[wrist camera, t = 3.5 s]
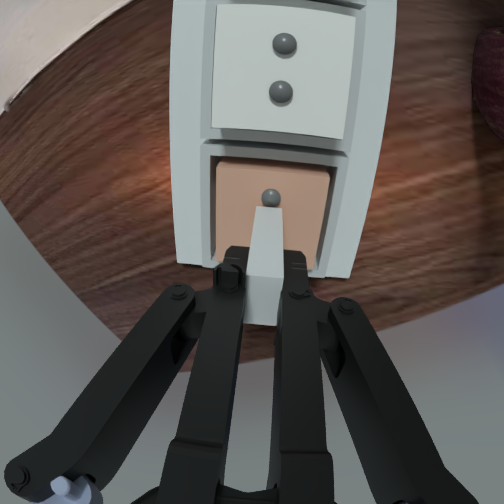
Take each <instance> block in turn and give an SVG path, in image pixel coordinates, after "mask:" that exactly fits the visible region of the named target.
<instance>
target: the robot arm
mask: <svg viewBox="0 0 504 504" xmlns="http://www.w3.org/2000/svg"><path fill="white" fill-rule="evenodd" d="M243 323H249V324H259V325H271V326H276V324H277V328H276V334H275V340H274V346H275V360H274V385H273V408H272V427H271V445H270V446H271V447H270V462H269V474H268V480H267V487H266V490H262V491H256V492H249V493H247V492H242V491H239V490H236V489H233V488H230V487H227V486H224V473H225V464H226V456H227V449H228V441H229V433H230V426H231V418H232V410H233V402H234V395H235V387H236V379H237V372H238V364H239V356H240V348H241V341H242V333H243ZM198 338H200V339H199V343H198V346H197V350H196V354H195V358H194V362H193V366H192V370H191V375H190V378H189V383H188V386H187V391H186V395H185V399H184V403H183V407H182V412H181V416H180V420H179V424H178V428H177V433H176V436H175V438H174V439H173V440H172V441H171V442H170V444H169V448H168V451H167V455H166V459H165V463H164V468H163V472H162V477H161V481H160V486H158V487H155V488H153V489H151V490H149V491H148V492H146V493H145V494H144V495H142V496H141V497H139V498H138V499H136V500H135V501H134V502H132V503H131V504H337V503H336V502H334V473H333V460H332V456H331V454H330V453H329V452H328V450H327V446H326V427H325V410H324V397H323V383H322V370H321V360H320V357H321V359H322V362H323V364H324V367H325V369H326V372H327V374H328V377H329V380H330V382H331V385H332V387H333V390H334V392H335V395H336V398H337V400H338V403H339V406H340V408H341V411H342V413H343V416H344V419H345V421H346V424H347V427H348V429H349V432H350V435H351V437H352V440H353V443H354V445H355V448H356V451H357V454H358V456H359V459H360V462H361V464H362V467H363V470H364V473H365V475H366V478H367V481H368V484H369V487H370V489H371V492H372V494H373V497H374V499H375V501H376V503H377V504H479V503H478V502H477V500H476V499H475V498H474V496H473V495H472V494H471V493H470V492H469V491H468V490H467V489H465V487H464V486H463V485H462V484H461V483H460V482H459V481H458V480H457V479H456V478H455V477H454V476H453V475H452V474H451V473H450V472H449V471H448V470H447V469H446V468H445V467H444V464H443V462H442V460H441V458H440V456H439V453H438V451H437V449H436V447H435V445H434V443H433V440H432V438H431V436H430V434H429V432H428V430H427V428H426V426H425V424H424V422H423V420H422V418H421V416H420V414H419V412H418V410H417V408H416V406H415V404H414V402H413V400H412V398H411V396H410V395H409V393H408V391H407V389H406V387H405V385H404V383H403V381H402V380H401V377H400V376H399V374H398V372H397V370H396V368H395V366H394V364H393V363H392V361H391V359H390V357H389V356H388V354H387V352H386V350H385V348H384V346H383V345H382V343H381V341H380V339H379V338H378V336H377V334H376V332H375V331H374V329H373V327H372V325H371V324H370V322H369V320H368V319H367V317H366V315H365V313H364V312H363V310H362V308H361V307H360V305H359V304H358V303H357V302H356V301H354V300H352V299H349V298H346V297H340V298H336V299H334V300H333V301H332V303H329V302H325V301H322V300H320V299H318V298H316V297H315V296H314V294H313V292H312V290H311V289H310V287H309V279H308V271H307V262H306V257H305V255H304V254H303V253H302V252H301V251H296V250H285V249H283V220H282V208H273V207H261V206H256V211H255V218H254V224H253V231H252V237H251V244H250V247H244V246H233V245H231V246H230V247H229V248H228V249H227V250H226V252H225V255H224V259H223V263H220V264H218V265H217V266H215V268H214V269H213V287H212V288H210V289H208V290H204V291H197V292H194V289H193V288H192V287H191V286H189V285H187V284H174V285H171V286H169V287H168V288H166V289H165V290H164V291H163V292H162V294H161V295H160V296H159V297H158V298H157V300H156V301H155V302H154V303H153V304H152V306H151V307H150V308H149V309H148V310H147V312H146V313H145V314H144V315H143V316H142V318H141V319H140V320H139V321H138V322H137V324H136V325H135V326H134V327H133V329H132V330H131V331H130V332H129V333H128V335H127V336H126V337H125V338H124V340H123V341H122V342H121V343H120V345H119V346H118V347H117V348H116V350H115V351H114V352H113V353H112V355H111V356H110V357H109V358H108V360H107V361H106V362H105V363H104V365H103V366H102V367H101V369H100V370H99V371H98V372H97V374H96V375H95V376H94V378H93V379H92V380H91V381H90V383H89V384H88V385H87V386H86V388H85V389H84V390H83V392H82V393H81V394H80V396H79V397H78V398H77V399H76V401H75V402H74V404H73V405H72V406H71V408H70V409H69V410H68V412H67V413H66V414H65V415H64V417H63V418H62V419H61V421H60V422H59V424H58V425H57V426H56V428H55V429H54V430H53V432H52V433H51V434H50V435H49V436H47V437H46V438H44V439H43V440H41V441H40V442H38V443H37V444H35V445H34V446H32V447H31V448H29V449H28V450H26V451H25V452H23V453H22V454H20V455H19V456H17V457H15V458H14V459H12V460H11V461H10V462H9V463H8V464H7V466H6V468H5V471H4V479H5V482H6V485H7V486H8V488H9V489H10V490H11V492H13V493H14V494H16V495H18V496H19V497H21V498H24V499H25V500H28V501H29V502H31V503H32V504H103V497H102V494H101V492H100V491H101V490H102V489H103V488H104V487H105V486H106V485H107V484H108V483H109V482H110V481H111V480H112V478H113V477H114V476H115V474H116V473H117V471H118V470H119V468H120V467H121V465H122V463H123V462H124V460H125V458H126V457H127V455H128V454H129V452H130V450H131V449H132V447H133V445H134V444H135V442H136V441H137V439H138V437H139V436H140V434H141V432H142V431H143V429H144V427H145V426H146V424H147V422H148V421H149V419H150V418H151V416H152V414H153V413H154V411H155V409H156V408H157V406H158V404H159V403H160V401H161V400H162V398H163V396H164V394H165V393H166V391H167V390H168V388H169V386H170V385H171V383H172V382H173V380H174V378H175V377H176V375H177V373H178V372H179V370H180V368H181V367H182V365H183V364H184V362H185V360H186V359H187V357H188V355H189V354H190V352H191V350H192V349H193V347H194V346H195V344H196V342H197V340H198Z"/></svg>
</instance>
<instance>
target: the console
mask: <svg viewBox="0 0 504 504" xmlns="http://www.w3.org/2000/svg"><path fill="white" fill-rule="evenodd" d="M217 4H255V5H274V6H286V7H296V8H305V9H312V10H319V11H326V12H332V13H337V14H343V15H348V16H353V17H356V22H355V36H354V48H353V59H352V69H351V79H350V88H349V96H348V105H347V112H346V120H345V127H344V134H343V139H336V138H329V137H322V136H314V135H306V134H298V133H288V132H278V131H266V130H253V129H237V128H214V127H211V122H212V90H213V66H214V47H215V30H216V15H217ZM396 9H397V0H174V2H173V16H172V32H171V54H170V159H171V183H172V201H173V217H174V230H175V242H176V254H177V263H185V264H195V265H202V267H208V268H215V266H217V265H218V264H220V263H223V262H221V261H216V167H217V165H218V164H219V162H220V161H221V159H222V157H223V156H233V157H248V158H261V159H273V160H283V161H293V162H302V163H311V164H319V165H324V166H325V168H326V170H327V172H328V174H329V176H330V181H329V187H328V193H327V199H326V205H325V210H324V216H323V221H322V226H321V232H320V237H319V242H318V247H317V252H316V257H315V262H314V267H313V270H309V269H307V271H308V277H318V278H325V276H327V277H339V278H349V276H350V273H351V269H352V266H353V262H354V259H355V255H356V252H357V248H358V244H359V241H360V237H361V233H362V229H363V225H364V221H365V217H366V213H367V209H368V205H369V200H370V196H371V192H372V187H373V183H374V178H375V173H376V168H377V163H378V158H379V153H380V147H381V142H382V136H383V130H384V124H385V118H386V112H387V105H388V98H389V90H390V82H391V74H392V65H393V54H394V43H395V29H396Z"/></svg>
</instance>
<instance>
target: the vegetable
mask: <svg viewBox="0 0 504 504" xmlns="http://www.w3.org/2000/svg"><path fill="white" fill-rule="evenodd" d="M471 80H472V86H473V98H474V100H475V101H476V105H477V107H478V109H479V111H480V113H481V114H482V116H483V117H484V119H485V120H486V122H487V123H488V125H489V127H490V128H491V130H492V131H493V132H494V133H495V134H496V135H497V136H498V137H499V138H501V139H503V140H504V27H491V28H487V29H485V30H484V31H482V33H481V34H480V35H479V38H478V39H477V43H476V46H475V51H474V58H473V69H472V78H471Z"/></svg>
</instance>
